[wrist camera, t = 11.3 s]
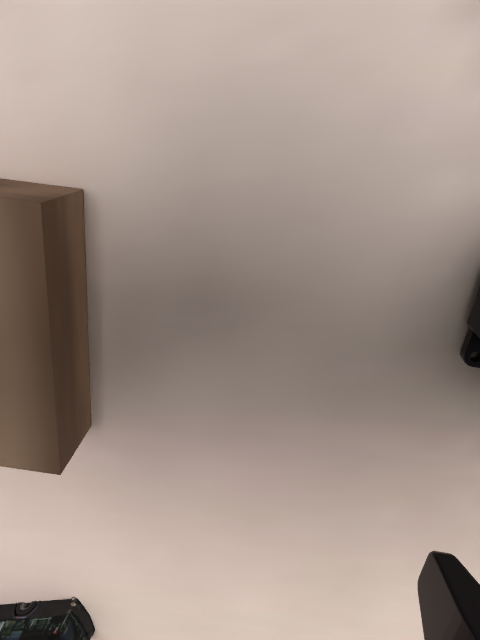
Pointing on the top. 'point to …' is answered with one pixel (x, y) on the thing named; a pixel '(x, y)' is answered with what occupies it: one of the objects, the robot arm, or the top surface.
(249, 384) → the top surface
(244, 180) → the top surface
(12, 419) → the walnut block
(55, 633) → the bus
